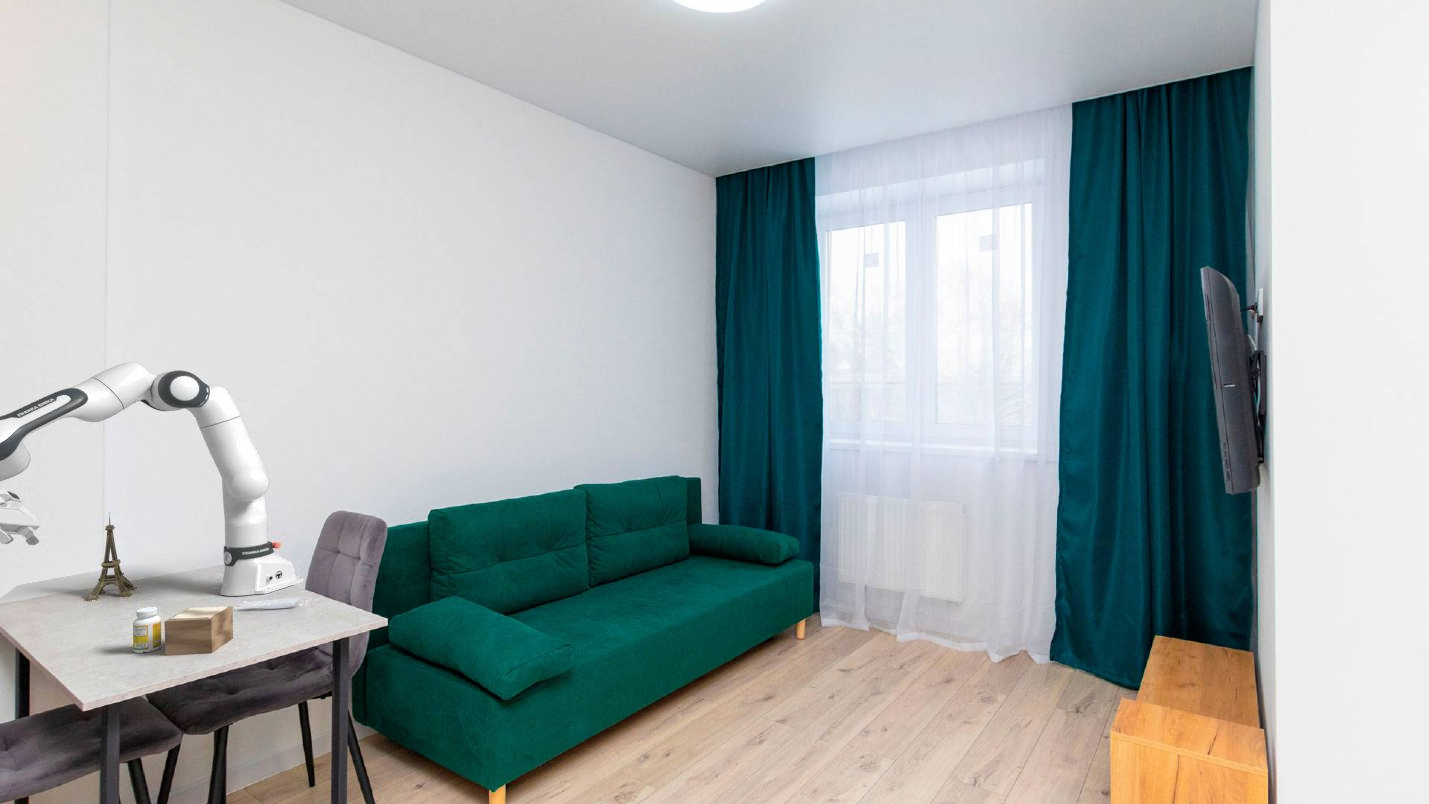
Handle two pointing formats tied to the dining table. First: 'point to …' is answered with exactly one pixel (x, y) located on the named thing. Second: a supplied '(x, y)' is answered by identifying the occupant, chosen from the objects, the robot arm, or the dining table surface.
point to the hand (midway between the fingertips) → (22, 542)
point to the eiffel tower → (118, 577)
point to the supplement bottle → (147, 630)
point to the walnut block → (198, 630)
